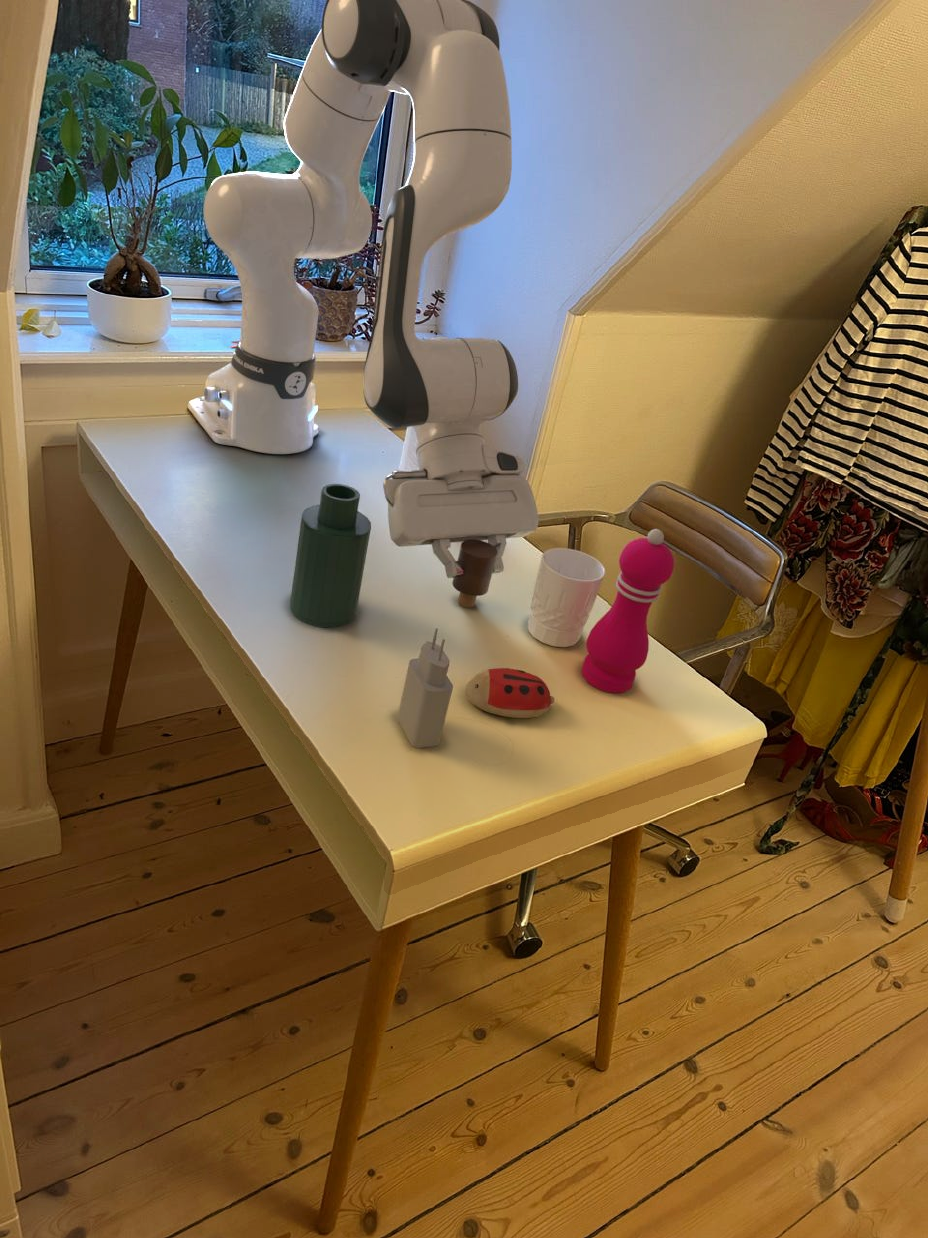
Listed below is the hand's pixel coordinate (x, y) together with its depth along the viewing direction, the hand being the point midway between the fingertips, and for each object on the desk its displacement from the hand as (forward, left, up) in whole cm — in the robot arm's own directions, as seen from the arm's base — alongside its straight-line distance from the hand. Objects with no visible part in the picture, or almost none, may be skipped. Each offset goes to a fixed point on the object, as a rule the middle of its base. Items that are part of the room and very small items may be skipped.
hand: (476, 574), depth 121 cm
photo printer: (-29, +15, -5) cm, 33 cm away
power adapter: (+16, -22, -5) cm, 28 cm away
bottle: (-7, -18, -5) cm, 20 cm away
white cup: (+9, +6, -5) cm, 12 cm away
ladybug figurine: (+17, -10, -5) cm, 21 cm away
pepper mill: (+19, +5, -5) cm, 21 cm away
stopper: (-1, 0, -5) cm, 5 cm away
